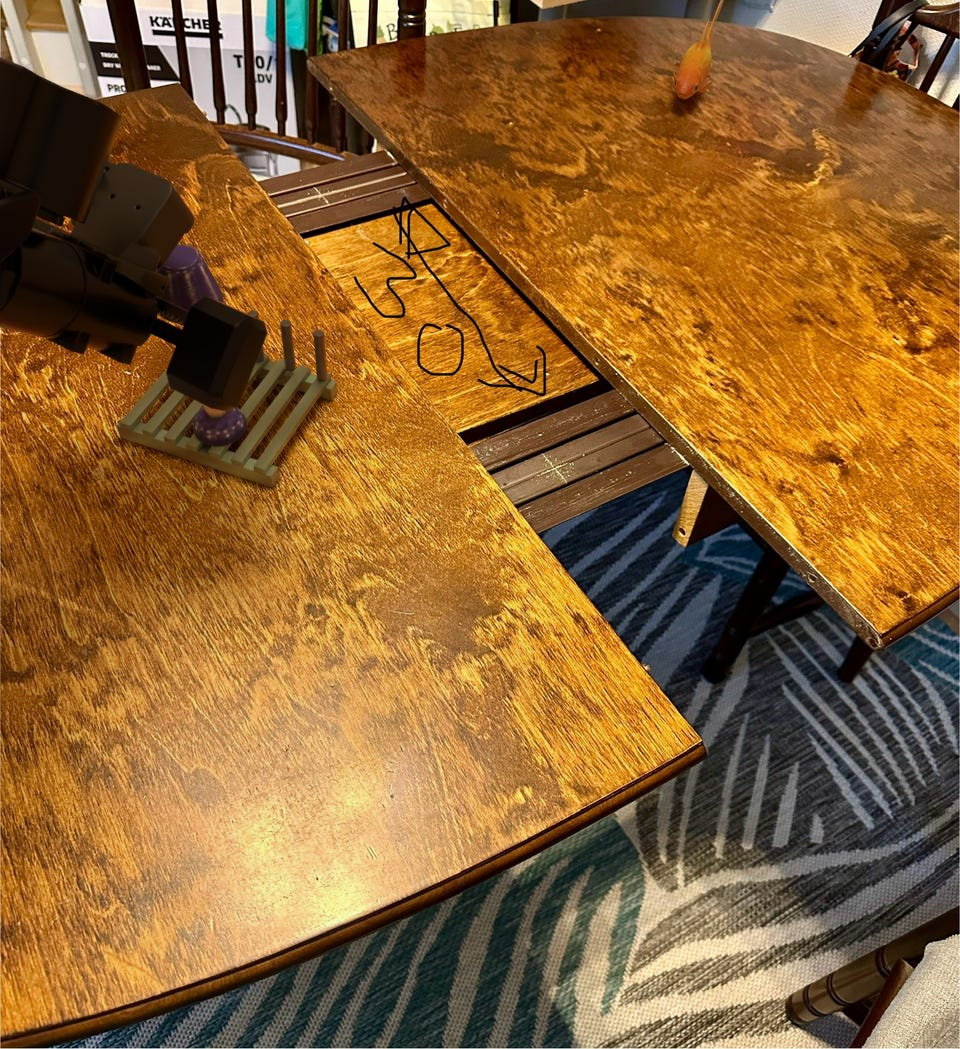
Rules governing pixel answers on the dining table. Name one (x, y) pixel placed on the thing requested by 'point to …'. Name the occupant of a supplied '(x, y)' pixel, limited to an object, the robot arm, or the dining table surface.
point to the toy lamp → (184, 291)
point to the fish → (696, 64)
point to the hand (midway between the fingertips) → (204, 336)
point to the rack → (271, 375)
